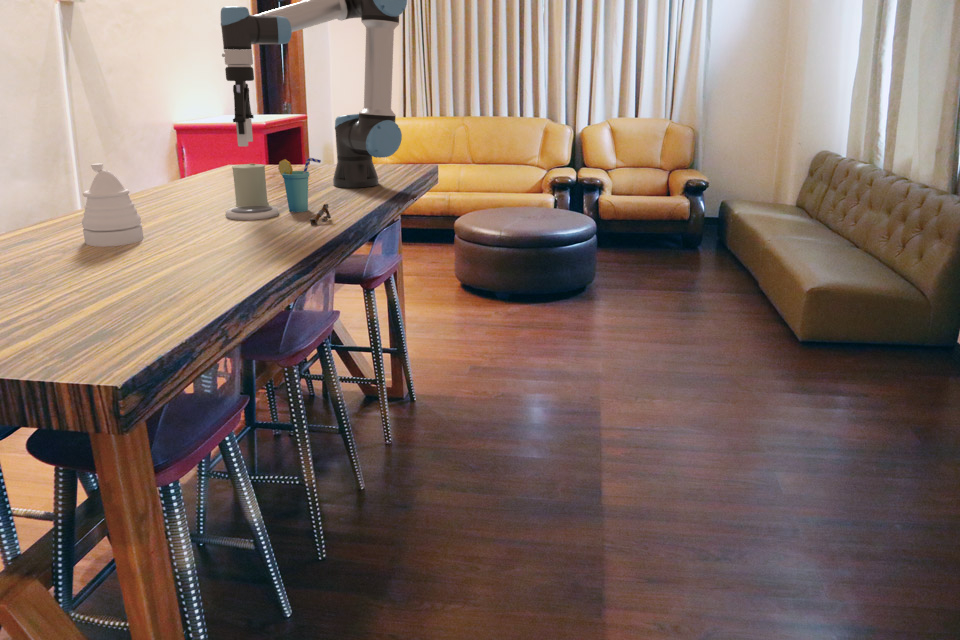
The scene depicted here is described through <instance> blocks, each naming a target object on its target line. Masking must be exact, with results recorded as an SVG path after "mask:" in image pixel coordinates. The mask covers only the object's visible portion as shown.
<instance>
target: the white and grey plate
mask: <svg viewBox="0 0 960 640" xmlns="http://www.w3.org/2000/svg"><path fill="white" fill-rule="evenodd" d="M279 214H280V213H279V207H277V206H274V205H268V206H267V205H250V206H240V207H236V206H235V207H234V206H233V207H230V208H228V209H225V218H226V219H228V220H234V221H236V220H237V221H256V220H257V221H258V220H266V219H270V218H275V217H278V215H279Z"/></svg>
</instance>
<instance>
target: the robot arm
mask: <svg viewBox="0 0 960 640" xmlns="http://www.w3.org/2000/svg"><path fill="white" fill-rule="evenodd" d="M407 5H408V0H302V1H298V2H295V3H292V4H288V5H284V6H281V7H278V8H275V9H274V8H273V9H271V10H268V11H267V10H266V11H264V12H261V13H257V14H254V15H253V14H250V11H249V8H248V7H245V6H223V7H222V8H221V10H220V26H221V34H222V37H221V38H222V44H223V46H222V47H223V53H222V54H221V57H222V58H224V64H225V65H226V67H225V68H224V70H225V78H226V81H227V82H235V83H234V84H233V86H232V92H233V93H232V94H233V101H234V103H233V104H234V118H232V122H233V123H235V127H236V138H237V140H236V141H237V146H238V147H249V143H250V142H251V143H253V142H254V139H253V138H254V137H253V136H254V134H253V126H252V125H253V124H252V119H254V118H255V117H254V114H253V113H252V109H251V102H250V88H249V84H248V83H247V82H253V81H254V80H255V73H254V68H253V64H254V60H253V59H254V57H253V48H252V45H284V44H285V45H287V44H288V43H289V42H290V41H291V39H292V35H293V33H294V32H298V31H301V30H305V29H308V28H311V27H313V26H317V25H320V24H323V23H328V22H330V21H334V20H338V21H341V22H342V21H346V20H349V19H358V18H359V19H361V23H362V24H363V26H365V52H364V53H365V58H364V60H365V61H364V93H363V94H364V95H363V99H364V100H363V108H362V109H361V110H360V111H359V112H358V113H354V114H345V115H339V116H337V117H336V118H335V120H334V130H335V144H336V156H337V157H336V160H337V161H336V162H337V163H336V166H335V170H334V175H333V179H332V180H333V181H332V182H333V186H334V187H336V188H337V187H338V188H346V189H347V188H348V189H349V188H351V189H352V188H357V189H358V188H359V189H360V188H368V187H369V188H370V187H375V186H377V185H379V182H380V181H379V176H378V173H377V170H376V167H375V164H374V163H373V157H374V158H376V159H377V158H379V159H380V158H388V157H391V156H393V155H394V154H395V153H396V152H397V151H398V150H399V148H400V146H401V145H402V144H401V143H402V139H403V138H402V137H403V136H402V135H403V134H402V131H401V128H400V127H399V125H398V124H397V123H396V113H394V111H393V110H392V95H393V93H392V91H393V67H394V66H393V65H394V63H393V62H394V38H395V36H394V35H395V33H394V32H395V29H396V28H397V27H398V26H399V25H400V15H401V14H403V13H404V11H405V10H406V7H407Z"/></svg>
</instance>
